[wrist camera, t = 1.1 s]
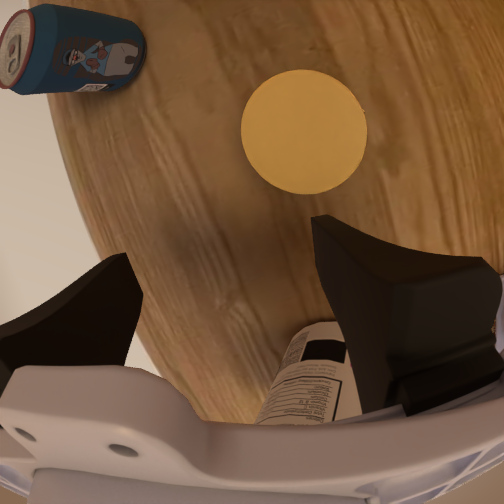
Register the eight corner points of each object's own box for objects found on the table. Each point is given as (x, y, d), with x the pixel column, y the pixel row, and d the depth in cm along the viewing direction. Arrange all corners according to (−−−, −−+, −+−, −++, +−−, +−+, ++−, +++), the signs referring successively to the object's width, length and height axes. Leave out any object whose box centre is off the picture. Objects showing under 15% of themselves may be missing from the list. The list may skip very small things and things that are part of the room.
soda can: (96, 37, 23) (-7, 30, 12) (150, 11, 20) (40, -18, 10) (99, 99, 25) (-9, 110, 15) (155, 79, 23) (34, 75, 12)
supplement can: (395, 338, 24) (388, 502, 11) (351, 396, 28) (319, 533, 15) (309, 301, 25) (244, 458, 12) (277, 366, 29) (213, 497, 16)
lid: (340, 59, 13) (337, 50, 12) (384, 167, 15) (387, 172, 13) (237, 102, 16) (222, 100, 14) (278, 201, 17) (268, 210, 16)
